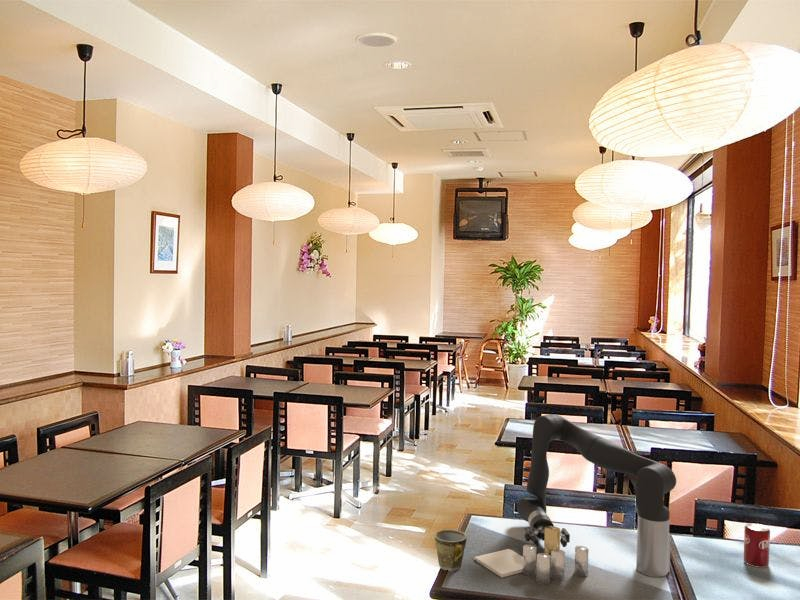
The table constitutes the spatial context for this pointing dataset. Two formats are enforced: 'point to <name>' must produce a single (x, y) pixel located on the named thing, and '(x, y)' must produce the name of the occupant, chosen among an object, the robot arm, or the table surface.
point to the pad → (502, 562)
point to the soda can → (756, 545)
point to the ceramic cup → (450, 548)
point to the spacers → (553, 563)
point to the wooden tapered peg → (551, 539)
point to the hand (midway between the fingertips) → (551, 543)
